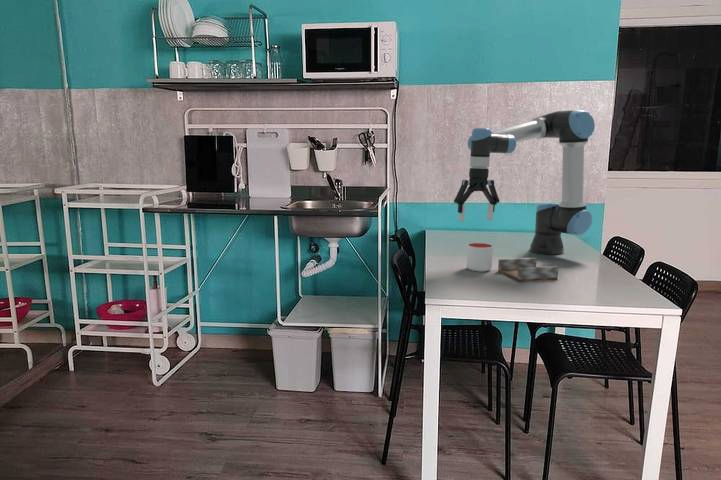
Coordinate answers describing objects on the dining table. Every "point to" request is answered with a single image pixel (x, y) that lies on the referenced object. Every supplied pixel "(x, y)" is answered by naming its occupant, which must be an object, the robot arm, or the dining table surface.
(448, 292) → the dining table surface
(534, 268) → the cradle
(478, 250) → the cup
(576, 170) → the robot arm
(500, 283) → the dining table surface
